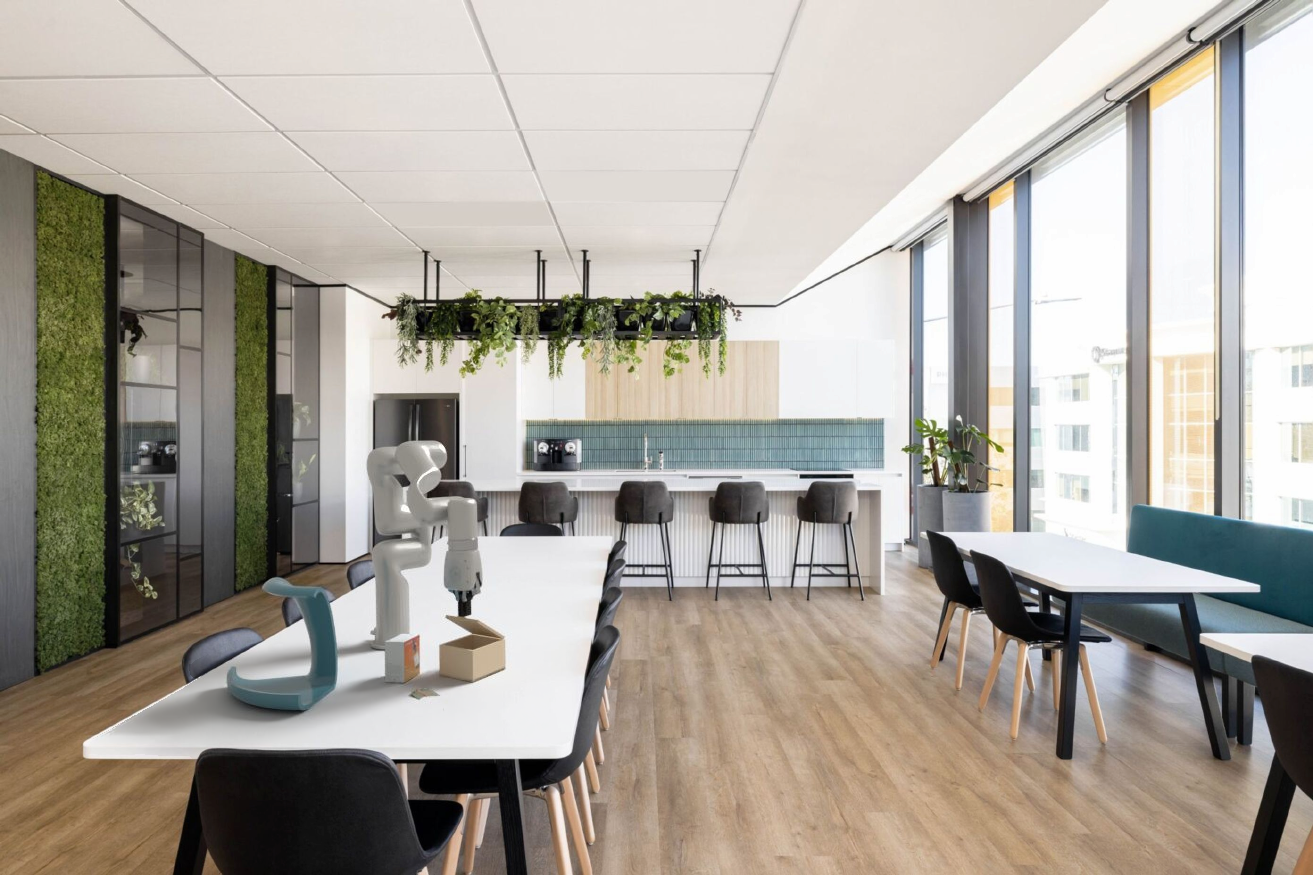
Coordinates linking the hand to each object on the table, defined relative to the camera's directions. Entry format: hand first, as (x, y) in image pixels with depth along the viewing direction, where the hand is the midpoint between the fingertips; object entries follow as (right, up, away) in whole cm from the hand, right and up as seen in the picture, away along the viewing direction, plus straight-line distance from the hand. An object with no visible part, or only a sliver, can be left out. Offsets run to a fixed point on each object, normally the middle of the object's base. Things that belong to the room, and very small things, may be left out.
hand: (464, 615), depth 188 cm
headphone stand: (-44, -17, -13) cm, 49 cm away
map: (-1, -16, -18) cm, 25 cm away
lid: (+2, -4, +3) cm, 6 cm away
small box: (-16, -16, -1) cm, 23 cm away
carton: (+1, -16, +3) cm, 16 cm away
